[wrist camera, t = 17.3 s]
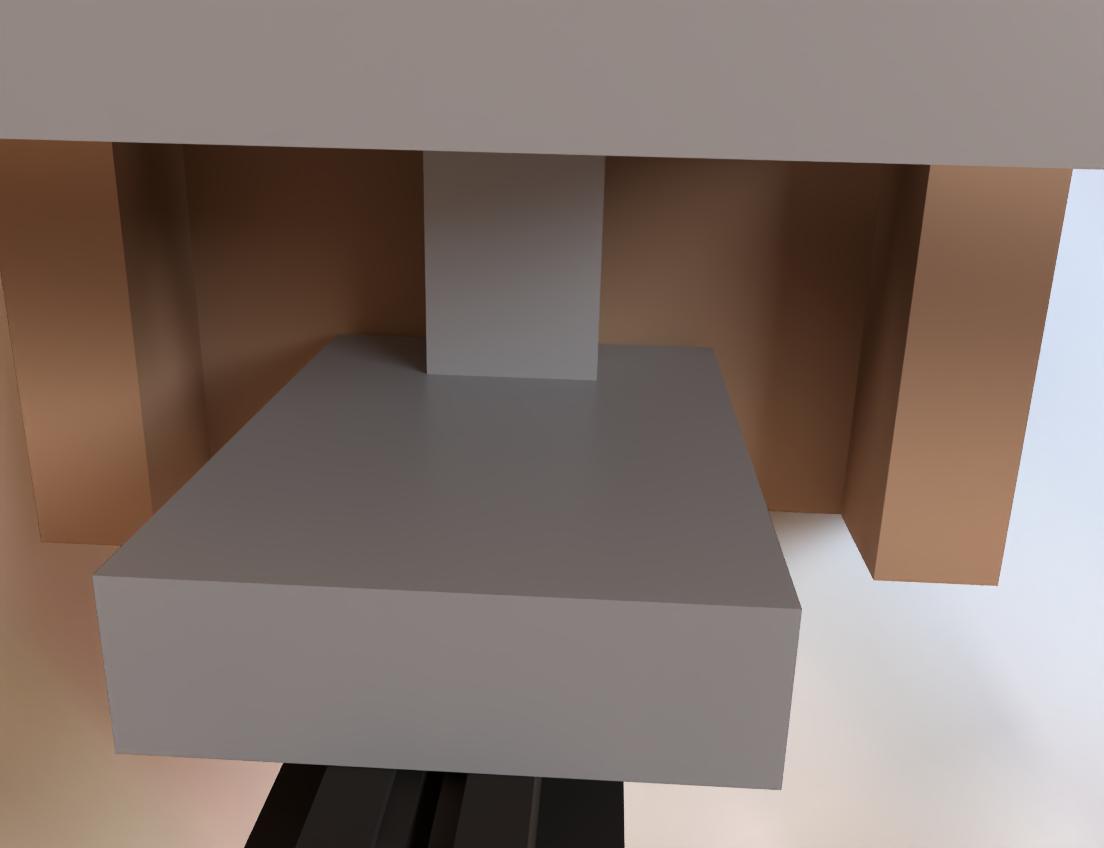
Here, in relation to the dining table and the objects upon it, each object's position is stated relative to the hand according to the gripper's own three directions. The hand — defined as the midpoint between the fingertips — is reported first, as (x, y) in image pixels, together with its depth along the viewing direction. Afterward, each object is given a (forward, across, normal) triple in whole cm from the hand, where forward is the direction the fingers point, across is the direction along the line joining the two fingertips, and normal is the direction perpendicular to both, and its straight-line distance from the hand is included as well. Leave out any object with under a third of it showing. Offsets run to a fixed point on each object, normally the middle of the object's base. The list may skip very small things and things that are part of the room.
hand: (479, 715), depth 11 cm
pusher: (+4, 0, -5) cm, 6 cm away
